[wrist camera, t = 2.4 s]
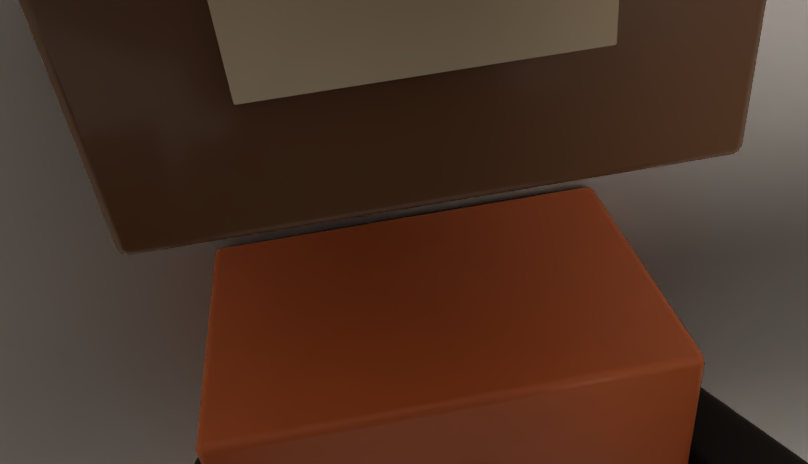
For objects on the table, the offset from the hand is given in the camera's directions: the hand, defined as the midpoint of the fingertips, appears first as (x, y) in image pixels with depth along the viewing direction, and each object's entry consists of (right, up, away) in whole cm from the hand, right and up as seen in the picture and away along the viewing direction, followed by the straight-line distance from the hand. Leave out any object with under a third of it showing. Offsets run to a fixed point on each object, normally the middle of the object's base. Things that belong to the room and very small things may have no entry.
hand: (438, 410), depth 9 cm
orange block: (0, +1, +1) cm, 1 cm away
